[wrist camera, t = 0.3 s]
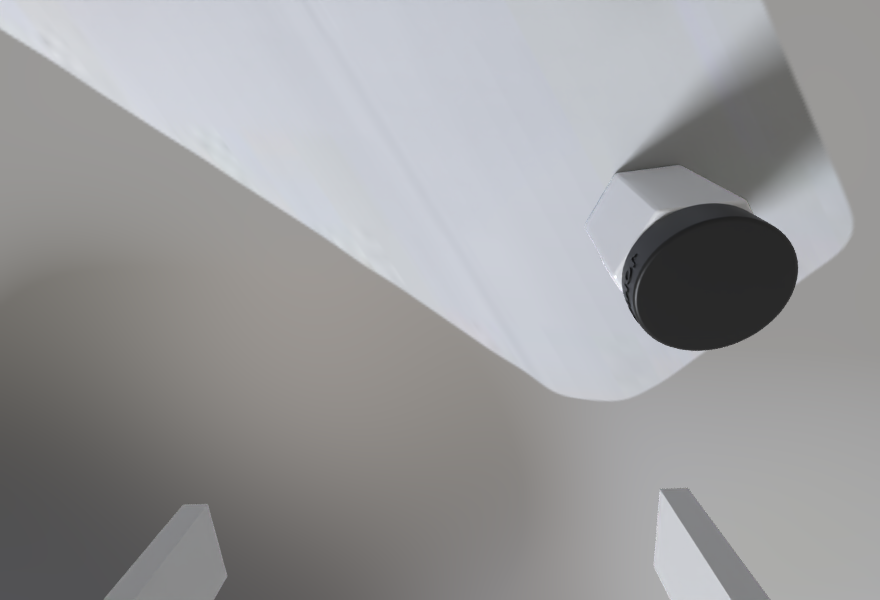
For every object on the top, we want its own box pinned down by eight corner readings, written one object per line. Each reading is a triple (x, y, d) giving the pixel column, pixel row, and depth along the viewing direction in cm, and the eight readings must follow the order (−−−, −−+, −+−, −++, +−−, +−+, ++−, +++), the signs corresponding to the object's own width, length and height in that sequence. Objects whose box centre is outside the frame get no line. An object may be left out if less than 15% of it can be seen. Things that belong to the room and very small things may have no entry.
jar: (565, 205, 33) (600, 270, 23) (667, 137, 30) (761, 176, 20) (622, 288, 36) (675, 379, 26) (719, 233, 33) (825, 311, 23)
